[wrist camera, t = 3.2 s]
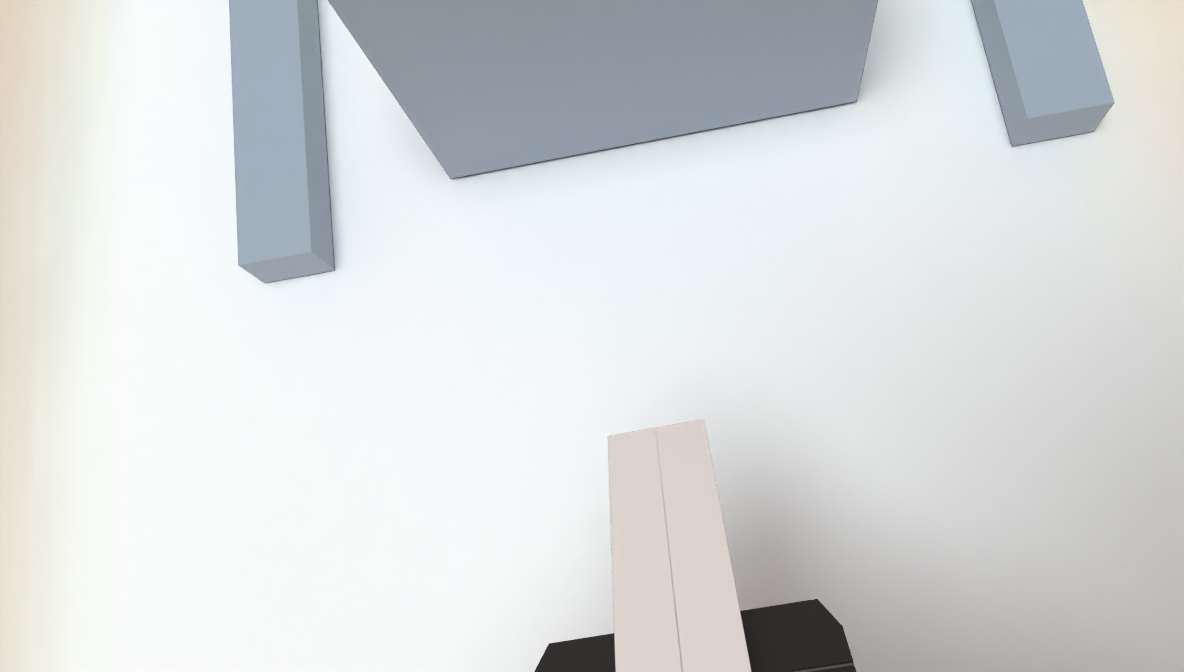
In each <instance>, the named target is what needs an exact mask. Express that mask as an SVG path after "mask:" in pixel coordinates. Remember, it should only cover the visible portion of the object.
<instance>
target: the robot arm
mask: <svg viewBox="0 0 1184 672" xmlns="http://www.w3.org/2000/svg"><path fill="white" fill-rule="evenodd" d="M608 463H609V492H610V522H611V551H612V580H613V609H614V634H607V635H601V636H594V637H588V638H582V639H575V640H569V641H563V642H556V643H550V644H549V645H548V647H547V649H546V651H545V653H544V654H543V656H542V658H541V660H540V662H539V664H538V666H537V668H536V670H535V672H856V669H855V667H854V664H853V659H852V656H851V653H850V649H849V646H848V643H847V640H846V636H845V633H844V630H843V626H842V625H841V624H840V623H839V622H838V621H837V620H836V619H835V618H834V617H833V616H832V615H831V613H830V612H829V611H828V610H827V609H826V608H825V607H824V606H823V605H822V604H821V603H820V602H819V601H818V599H814V600H808V601H801V602H795V603H789V604H782V605H776V606H770V607H763V608H757V609H751V610H744V611H740V608H739V603H738V598H737V592H736V587H735V582H734V576H733V571H732V566H731V560H730V555H729V549H728V544H727V539H726V533H725V528H724V523H723V517H722V512H721V507H720V501H719V496H718V491H717V485H716V480H715V475H714V469H713V464H712V459H711V453H710V448H709V443H708V437H707V432H706V427H705V421H704V419H701V420H696V421H690V422H684V423H679V424H673V425H667V426H662V427H656V428H650V429H645V430H639V431H633V432H628V433H622V434H616V435H611V436H608Z"/></svg>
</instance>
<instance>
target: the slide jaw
mask: <svg viewBox="0 0 1184 672" xmlns="http://www.w3.org/2000/svg"><path fill="white" fill-rule="evenodd" d="M328 1H329V3H330V4H331V5H332V7H333V8H334V10H335V11H336V13H337V14H338V16H339V17H340V19H341V20H342V21H343V23H344V24H345V26H346V27H347V29H348V30H349V32H350V33H351V35H352V36H353V37H354V39H355V40H356V42H357V43H358V45H359V46H360V48H361V49H362V51H363V52H364V53H365V55H366V56H367V58H368V59H369V61H370V62H371V64H372V65H373V67H374V68H375V69H376V71H377V72H378V74H379V75H380V77H381V78H382V80H383V81H384V83H385V84H386V85H387V87H388V88H389V90H390V91H391V93H392V94H393V96H394V97H395V99H396V100H397V101H398V103H399V104H400V106H401V107H402V109H403V110H404V112H405V113H406V115H407V116H408V117H409V119H410V120H411V122H412V123H413V125H414V126H415V128H416V129H417V131H418V132H419V133H420V135H421V136H422V138H423V139H424V141H425V142H426V144H427V145H428V146H429V148H430V149H431V151H432V152H433V154H434V155H435V157H436V158H437V160H438V161H439V162H440V164H441V165H442V167H443V168H444V170H445V171H446V173H447V174H448V176H449V177H450V178H451V179H452V178H457V177H462V176H467V175H473V174H478V173H483V172H488V171H494V170H499V169H504V168H509V167H515V166H520V165H525V164H530V163H536V162H541V161H546V160H551V159H557V158H562V157H567V156H572V155H577V154H583V153H588V152H593V151H598V150H604V149H609V148H614V147H619V146H625V145H630V144H635V143H640V142H646V141H651V140H656V139H661V138H667V137H672V136H677V135H682V134H688V133H693V132H698V131H703V130H709V129H714V128H719V127H724V126H729V125H735V124H740V123H745V122H750V121H756V120H761V119H766V118H771V117H777V116H782V115H787V114H792V113H798V112H803V111H808V110H813V109H819V108H824V107H829V106H834V105H840V104H845V103H850V102H855V101H857V97H858V93H859V88H860V83H861V78H862V74H863V69H864V64H865V60H866V55H867V50H868V45H869V41H870V36H871V31H872V27H873V22H874V17H875V12H876V8H877V3H878V0H328Z"/></svg>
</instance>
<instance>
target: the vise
mask: <svg viewBox="0 0 1184 672" xmlns="http://www.w3.org/2000/svg"><path fill="white" fill-rule="evenodd" d="M971 1H972V5H973V8H974V12H975V15H976V19H977V23H978V26H979V30H980V33H981V37H982V41H983V44H984V48H985V51H986V55H987V59H988V62H989V66H990V69H991V73H992V76H993V80H994V84H995V87H996V91H997V94H998V98H999V102H1000V105H1001V109H1002V112H1003V116H1004V120H1005V123H1006V127H1007V130H1008V134H1009V138H1010V141H1011V145H1012V146H1017V145H1023V144H1028V143H1034V142H1039V141H1044V140H1050V139H1055V138H1061V137H1066V136H1072V135H1077V134H1083V133H1088V132H1094V130H1095V129H1096V127H1097V126H1098V125H1099V123H1100V122H1101V121H1102V119H1103V118H1104V116H1105V115H1106V114H1107V112H1108V111H1109V109H1110V108H1111V107H1112V105H1113V104H1114V100H1113V97H1112V93H1111V90H1110V87H1109V84H1108V81H1107V77H1106V74H1105V71H1104V68H1103V65H1102V62H1101V58H1100V55H1099V52H1098V49H1097V46H1096V42H1095V39H1094V36H1093V33H1092V30H1091V27H1090V23H1089V20H1088V17H1087V14H1086V11H1085V7H1084V4H1083V1H1082V0H971ZM229 10H230V39H231V67H232V96H233V124H234V153H235V181H236V210H237V238H238V265H239V266H240V267H242V268H243V269H245V270H246V271H248V272H249V273H251V274H252V275H254V276H255V277H257V278H258V279H259V280H261V281H262V282H264V283H269V282H274V281H280V280H285V279H291V278H296V277H301V276H307V275H312V274H318V273H323V272H329V271H334V257H333V241H332V225H331V210H330V194H329V178H328V163H327V147H326V131H325V116H324V100H323V85H322V69H321V53H320V38H319V22H318V6H317V0H229Z"/></svg>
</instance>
